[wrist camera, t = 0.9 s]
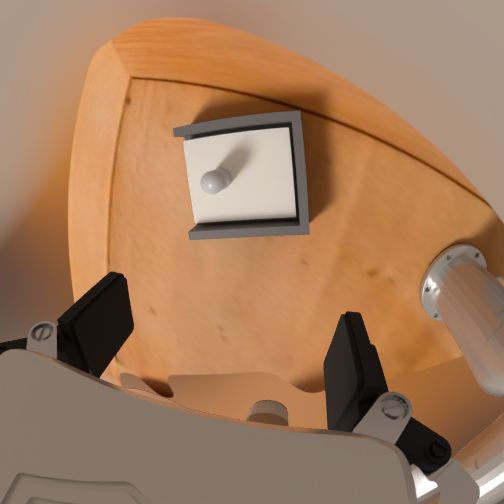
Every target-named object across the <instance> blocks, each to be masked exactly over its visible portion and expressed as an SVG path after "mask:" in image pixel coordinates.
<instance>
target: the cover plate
mask: <svg viewBox="0 0 504 504" xmlns="http://www.w3.org/2000/svg"><path fill="white" fill-rule="evenodd" d="M183 144H184V152H185V159H186V167H187V174H188V181H189V188H190V195H191V201H192V208H193V214H194V220H195V223H205V222H219V221H234V220H251V219H268V218H288V217H296V203H295V189H294V176H293V164H292V153H291V142H290V132H289V127H287V128H274V129H263V130H253V131H245V132H237V133H229V134H222V135H216V136H209V137H204V138H198V139H192V140H187V141H183Z"/></svg>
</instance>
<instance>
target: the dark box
mask: <svg viewBox="0 0 504 504" xmlns="http://www.w3.org/2000/svg"><path fill="white" fill-rule="evenodd" d="M287 127H289V132H290V142H291V153H292V164H293V176H294V189H295V203H296V217H288V218H268V219H251V220H234V221H219V222H205V223H197V225H196V226H195V227H194V228H193V229H191V230H190V231H189V232H188V233H189V239H190V240H200V239H219V238H240V237H261V236H284V235H310V234H309V211H308V193H307V178H306V165H305V153H304V142H303V132H302V122H301V113H300V111H285V112H273V113H263V114H254V115H245V116H238V117H231V118H224V119H218V120H212V121H207V122H201V123H196V124H191V125H186V126H181V127H177V128H173V133H174V137H185V141H187V140H192V139H198V138H204V137H209V136H216V135H222V134H229V133H237V132H245V131H253V130H263V129H274V128H287Z"/></svg>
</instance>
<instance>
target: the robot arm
mask: <svg viewBox="0 0 504 504" xmlns="http://www.w3.org/2000/svg"><path fill="white" fill-rule="evenodd" d="M502 282H503V278H502V276H493V275H492V274H491V273H490V272H489V271H488V270H487V264H486V260H485V258H484V256H483V254H482V253H481V252H480V251H479V250H478V249H477V248H475V247H474V246H472V245H469V244H457V245H453V246H451V247H449V248H447V249H446V250H444V251H443V252H442V253H440V254H439V255H438V256H437V257H436V258H435V259H434V261H433V262H432V263H431V265H430V266H429V268H428V270H427V271H426V273H425V276H424V278H423V281H422V285H421V290H420V298H421V303H422V306H423V308H424V310H425V312H426V313H427V314H428V316H429V317H431V318H432V319H434V320H437V321H443V322H444V323H445V324H446V326H447V328H448V329H449V331H450V332H451V334H452V336H453V337H454V339H455V341H456V343H457V344H458V346H459V348H460V349H461V351H462V353H463V355H464V356H465V358H466V360H467V362H468V364H469V366H470V368H471V370H472V372H473V373H474V375H475V377H476V379H477V381H478V383H479V385H480V386H481V387H482V389H483V390H484V391H486V392H487V393H489V394H492V395H495V396H504V286H503V285H502ZM57 321H58V324H59V325H58V326H57V327H56V326H55V324H54V323H52V322H49V321H43V322H39V323H37V324H35V325H34V326H33V327H32V328H31V329H30V330H29V333H28V338H23V339H18V340H13V341H8V342H3V343H0V504H504V412H503V413H502V414H501V416H500V417H499V418H497V420H495V421H494V422H493V423H492V424H491V425H490V426H489V427H488V428H487V429H486V430H484V431H483V432H482V433H481V434H480V435H478V436H477V437H476V438H475V439H474V440H472V441H471V442H470V443H469V444H468V445H466V446H465V447H464V448H463V449H461V450H460V451H459V452H458V453H457V455H456V456H455V457H454V458H453V459H451V458H450V457H451V447H450V444H449V443H448V441H447V440H445V439H444V438H443V437H442V436H440V435H438V434H437V433H435V432H434V431H432V430H431V429H429V428H428V427H426V426H425V425H423V424H422V423H420V422H419V421H417V420H415V419H414V418H412V417H411V415H412V405H411V403H410V401H409V400H408V399H407V398H406V397H405V396H404V395H402V394H400V393H397V392H389V391H388V387H387V384H386V380H385V377H384V373H383V370H382V366H381V363H380V360H379V357H378V353H377V350H376V348H375V346H374V345H372V344H370V340H369V337H368V334H367V331H366V328H365V325H364V322H363V319H362V316H361V313H358V312H349V311H347V312H346V313H345V315H344V314H342V315H341V317H340V319H339V322H338V325H337V328H336V331H335V334H334V336H333V339H332V342H331V345H330V347H329V350H328V352H327V355H326V358H325V360H324V380H325V392H326V407H327V424H328V425H327V426H328V430H325V429H312V428H299V427H289V426H281V425H272V424H265V423H257V422H251V421H245V420H239V419H233V418H228V417H223V416H218V415H214V414H209V413H204V412H200V411H196V410H192V409H188V408H184V407H181V406H177V405H174V404H170V403H167V402H163V401H160V400H157V399H154V398H151V397H147V396H144V395H142V394H139V393H136V392H133V391H130V390H127V389H125V388H122V387H119V386H117V385H114V384H112V383H109V382H107V381H104V380H102V379H99V378H100V376H101V375H102V373H103V372H104V370H105V369H106V368H107V366H108V365H109V363H110V362H111V361H112V359H113V358H114V356H115V355H116V354H117V352H118V351H119V349H120V348H121V347H122V345H123V344H124V342H125V341H126V340H127V338H128V337H129V336H130V334H131V333H132V331H133V329H134V322H133V317H132V311H131V305H130V299H129V292H128V285H127V279H126V278H124V275H123V274H121V273H116V272H110V273H108V274H107V275H106V276H105V277H104V278H103V279H101V280H100V281H99V282H98V283H97V284H96V285H95V286H93V287H92V288H91V289H90V290H89V291H88V292H87V293H86V294H84V295H83V296H82V297H81V298H80V299H79V300H78V301H77V302H76V303H75V304H74V305H72V306H71V307H70V308H69V309H68V310H67V311H66V312H65V313H64V314H63V315H62V316H61V317H60V318H59V319H58V320H57Z"/></svg>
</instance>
